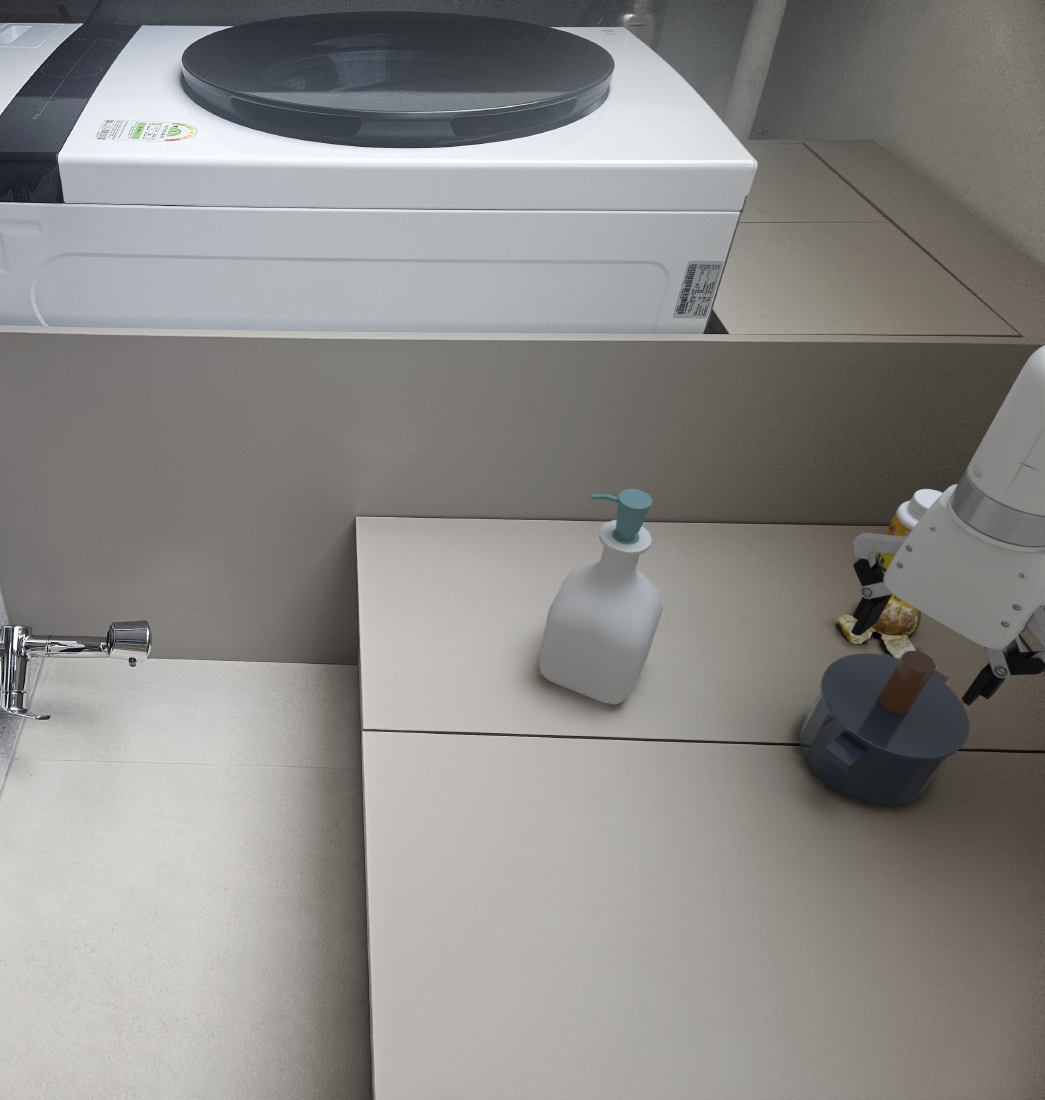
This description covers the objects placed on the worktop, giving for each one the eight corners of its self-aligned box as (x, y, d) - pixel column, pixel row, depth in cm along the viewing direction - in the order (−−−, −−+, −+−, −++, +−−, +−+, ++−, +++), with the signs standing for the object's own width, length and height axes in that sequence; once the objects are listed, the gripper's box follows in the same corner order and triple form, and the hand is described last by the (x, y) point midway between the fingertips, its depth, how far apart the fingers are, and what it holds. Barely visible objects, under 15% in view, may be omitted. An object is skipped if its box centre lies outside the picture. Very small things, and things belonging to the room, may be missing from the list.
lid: (990, 721, 85) (1026, 671, 81) (919, 789, 80) (953, 740, 75) (863, 642, 92) (889, 593, 88) (790, 700, 87) (814, 651, 83)
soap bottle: (561, 623, 104) (600, 453, 89) (649, 656, 101) (704, 485, 86) (529, 681, 98) (565, 509, 83) (621, 718, 94) (675, 545, 79)
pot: (963, 752, 91) (999, 701, 86) (868, 844, 84) (902, 794, 79) (855, 681, 98) (883, 631, 93) (759, 761, 90) (783, 711, 85)
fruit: (831, 634, 103) (843, 610, 100) (851, 591, 108) (863, 567, 105) (915, 668, 99) (930, 644, 96) (932, 622, 104) (946, 597, 101)
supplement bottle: (879, 546, 113) (913, 477, 106) (930, 566, 110) (969, 496, 104) (865, 571, 110) (900, 502, 103) (917, 592, 107) (956, 522, 100)
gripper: (1166, 547, 67) (1043, 704, 78) (924, 434, 77) (846, 587, 89) (1120, 591, 63) (998, 748, 75) (873, 467, 74) (799, 621, 85)
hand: (916, 660), depth 82 cm, fingers open, 9 cm apart
